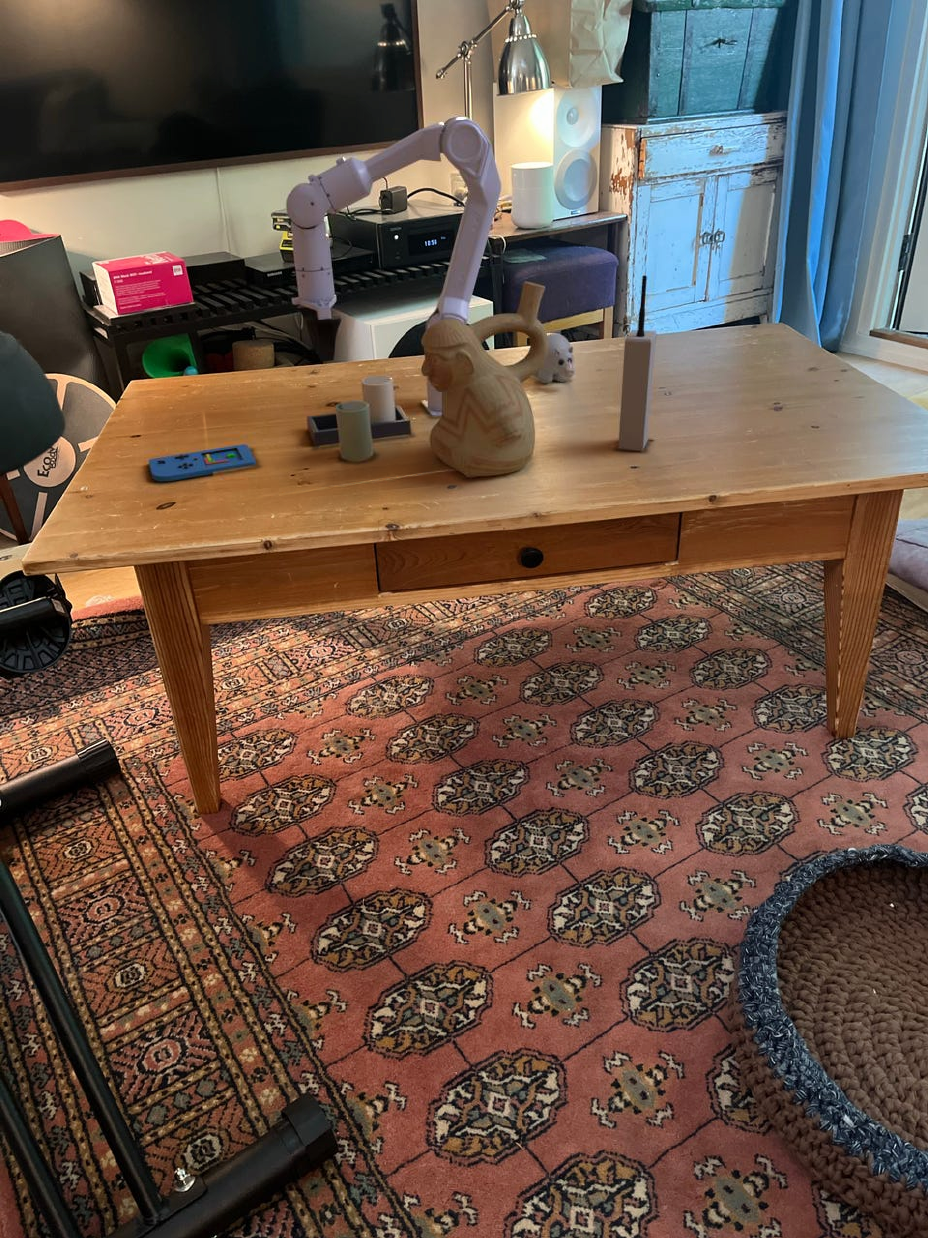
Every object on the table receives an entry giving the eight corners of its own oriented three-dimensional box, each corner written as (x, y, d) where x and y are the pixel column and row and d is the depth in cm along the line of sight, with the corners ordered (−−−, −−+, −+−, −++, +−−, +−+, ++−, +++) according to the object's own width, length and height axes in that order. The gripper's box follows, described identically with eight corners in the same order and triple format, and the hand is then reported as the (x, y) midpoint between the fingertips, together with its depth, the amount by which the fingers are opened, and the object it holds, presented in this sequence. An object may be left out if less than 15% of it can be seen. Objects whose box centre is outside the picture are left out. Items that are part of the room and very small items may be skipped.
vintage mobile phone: (648, 440, 140) (661, 270, 127) (642, 452, 136) (656, 278, 123) (624, 438, 141) (635, 270, 128) (618, 449, 137) (628, 277, 124)
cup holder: (400, 420, 152) (399, 404, 150) (411, 436, 145) (410, 420, 143) (308, 432, 148) (306, 416, 147) (315, 449, 142) (313, 432, 140)
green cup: (370, 449, 141) (365, 398, 137) (376, 460, 137) (371, 408, 132) (338, 453, 140) (332, 402, 135) (343, 464, 136) (338, 413, 131)
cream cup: (392, 421, 150) (389, 373, 145) (399, 431, 146) (395, 382, 141) (363, 425, 149) (358, 377, 144) (369, 435, 144) (364, 386, 140)
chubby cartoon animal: (548, 395, 160) (549, 347, 156) (526, 376, 170) (526, 330, 165) (586, 391, 162) (588, 342, 157) (562, 372, 171) (563, 326, 167)
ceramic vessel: (406, 456, 138) (394, 284, 125) (520, 433, 144) (521, 269, 131) (450, 496, 125) (443, 310, 111) (574, 470, 131) (581, 291, 118)
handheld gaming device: (147, 457, 137) (246, 441, 142) (149, 464, 138) (247, 448, 142) (152, 476, 131) (255, 459, 135) (154, 483, 131) (256, 466, 136)
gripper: (283, 261, 147) (293, 345, 154) (293, 278, 135) (305, 369, 143) (326, 258, 149) (334, 341, 156) (340, 274, 137) (349, 364, 144)
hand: (323, 354), depth 149 cm, fingers open, 7 cm apart
